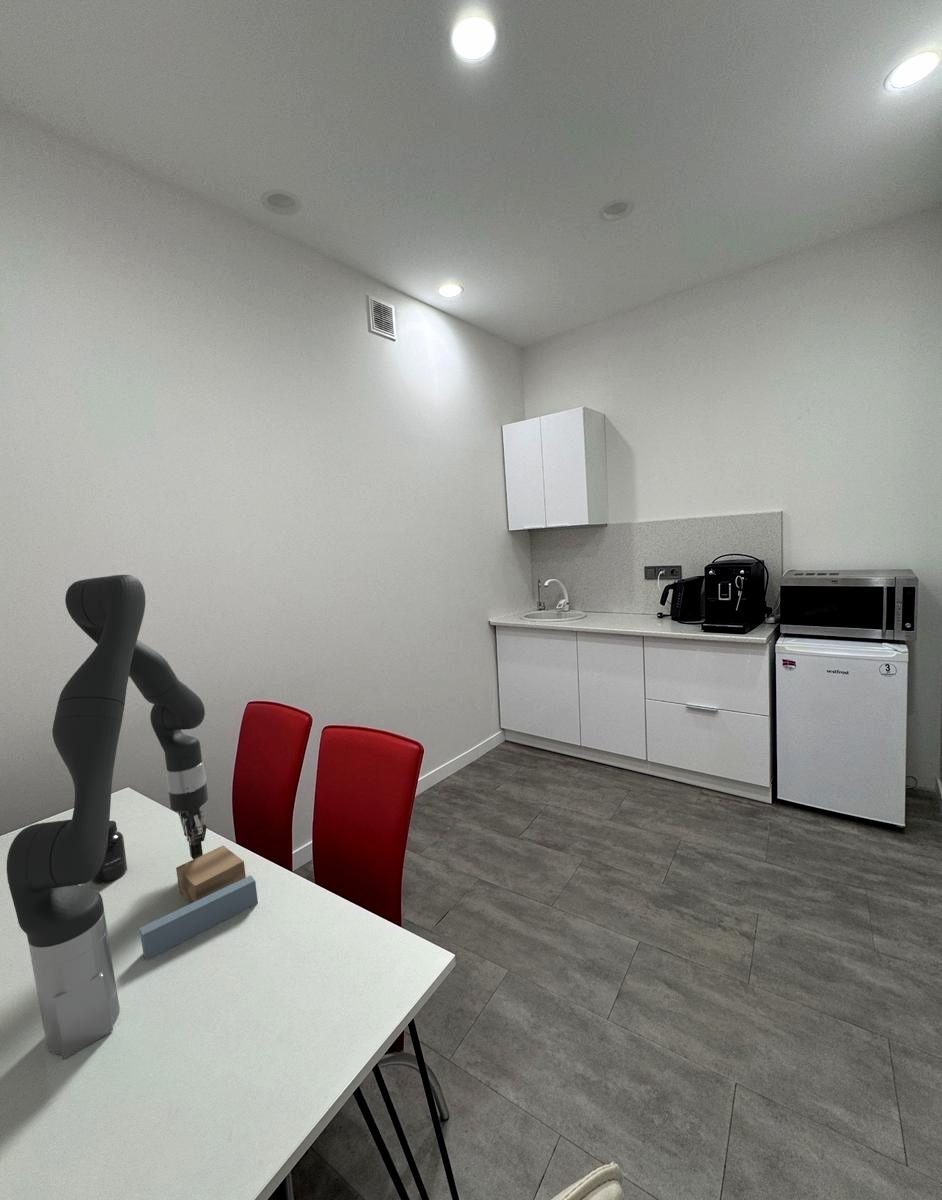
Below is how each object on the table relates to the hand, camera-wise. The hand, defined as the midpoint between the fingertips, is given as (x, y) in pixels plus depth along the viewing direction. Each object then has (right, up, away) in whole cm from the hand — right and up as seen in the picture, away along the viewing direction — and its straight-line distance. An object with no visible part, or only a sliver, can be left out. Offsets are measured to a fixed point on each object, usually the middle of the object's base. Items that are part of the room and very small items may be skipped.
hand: (196, 856), depth 120 cm
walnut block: (+7, -4, -7) cm, 10 cm away
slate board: (+11, -5, -18) cm, 21 cm away
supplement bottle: (-20, -5, +1) cm, 21 cm away
